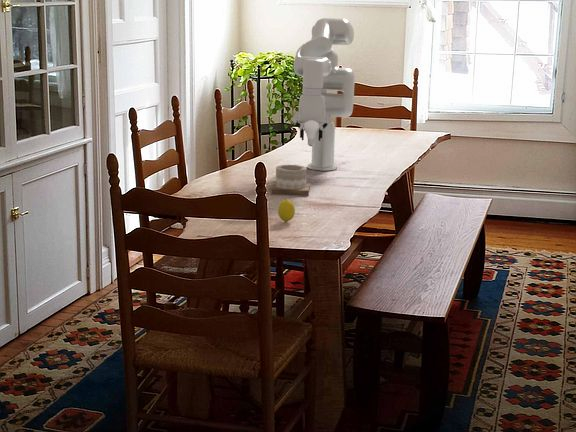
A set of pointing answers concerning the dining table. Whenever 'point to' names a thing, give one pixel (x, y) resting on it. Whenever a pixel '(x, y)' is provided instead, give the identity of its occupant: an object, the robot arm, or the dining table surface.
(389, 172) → the dining table surface
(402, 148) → the dining table surface
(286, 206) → the lemon
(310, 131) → the lightbulb
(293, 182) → the socket
